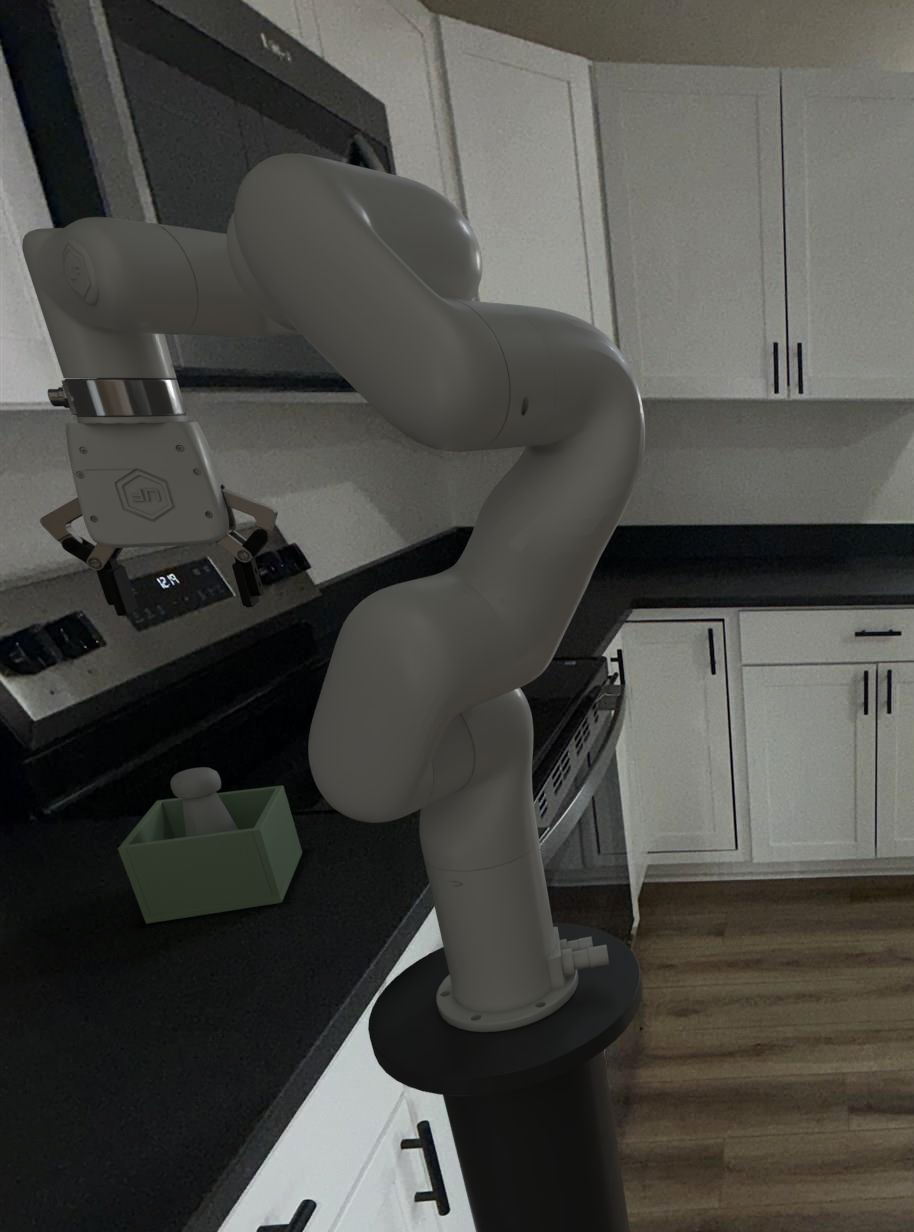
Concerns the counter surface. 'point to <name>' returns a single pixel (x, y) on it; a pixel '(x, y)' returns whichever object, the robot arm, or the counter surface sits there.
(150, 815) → the bin
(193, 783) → the salt shaker
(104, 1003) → the counter surface
